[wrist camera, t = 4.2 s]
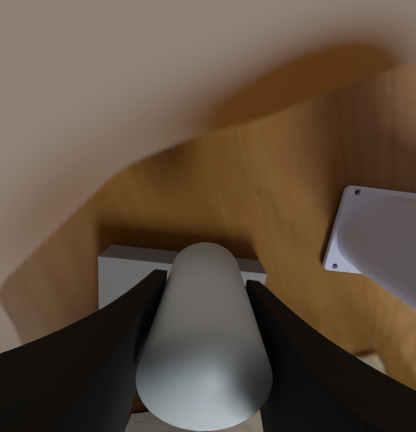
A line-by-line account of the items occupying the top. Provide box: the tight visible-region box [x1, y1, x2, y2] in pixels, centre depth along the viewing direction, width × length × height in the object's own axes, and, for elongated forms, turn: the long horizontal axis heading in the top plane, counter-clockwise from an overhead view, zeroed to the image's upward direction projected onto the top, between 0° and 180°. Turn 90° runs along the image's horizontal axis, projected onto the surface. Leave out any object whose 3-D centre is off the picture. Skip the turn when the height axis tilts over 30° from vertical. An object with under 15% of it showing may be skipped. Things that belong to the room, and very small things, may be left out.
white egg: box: [136, 242, 273, 431], centre depth 9 cm, size 4×4×6 cm
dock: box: [98, 244, 267, 310], centre depth 19 cm, size 14×14×2 cm
